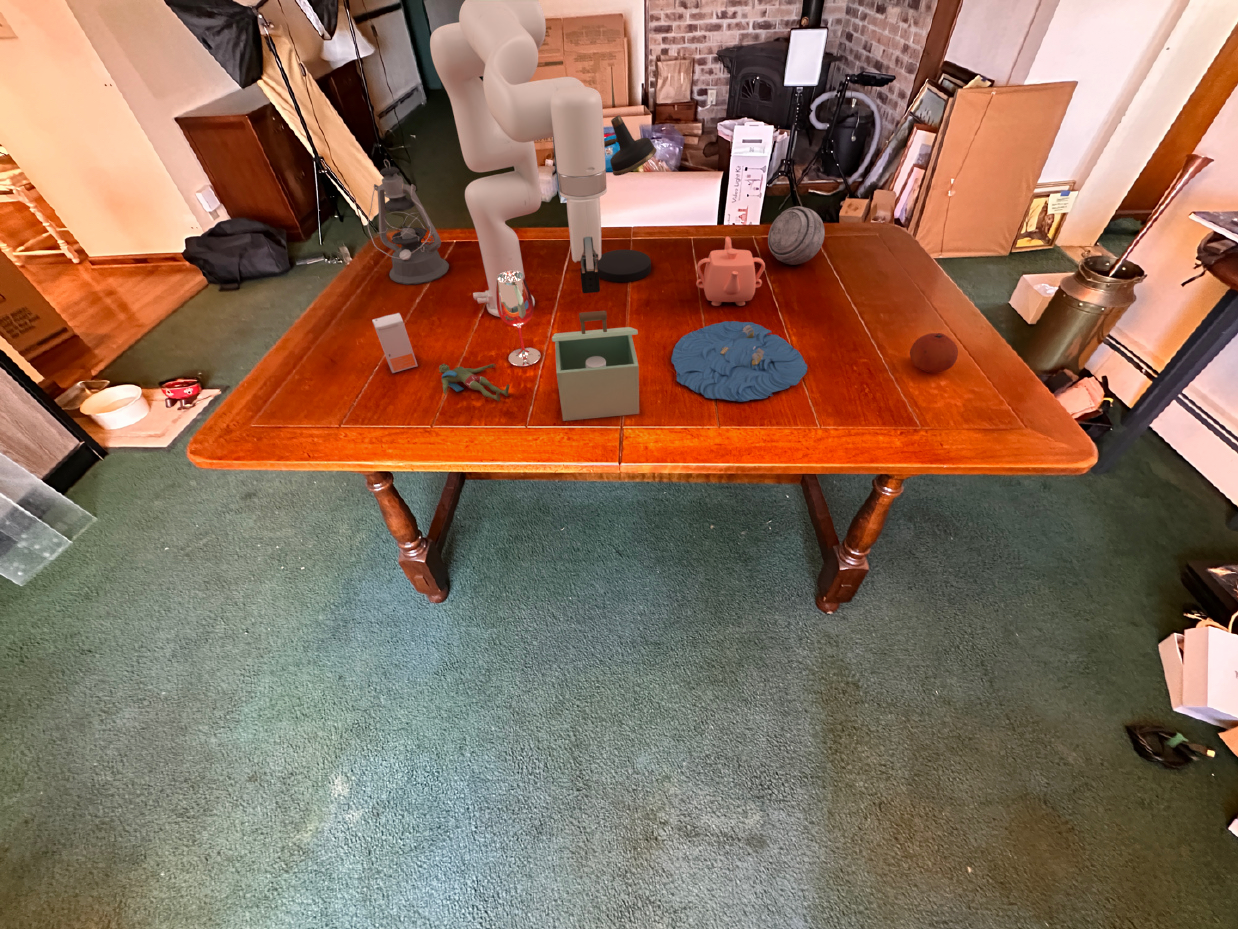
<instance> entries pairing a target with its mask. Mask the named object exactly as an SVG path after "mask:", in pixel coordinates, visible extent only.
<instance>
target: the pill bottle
mask: <svg viewBox="0 0 1238 929" xmlns="http://www.w3.org/2000/svg"><path fill="white" fill-rule="evenodd" d="M605 366H606V361H605V359H604V358H603V357H600V356H593V357H590V358H588V359H587V360H586V368H594V367H605Z"/></svg>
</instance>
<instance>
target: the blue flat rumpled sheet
mask: <svg viewBox="0 0 1238 929" xmlns="http://www.w3.org/2000/svg"><path fill="white" fill-rule="evenodd" d="M670 362H671V364H673V366H674V370H675V371H676V382H678V383H679V384H681V385H682V386H686V387H688V389H690V390H692V391H693V392H695V393H697V394H701V395H703V396H704V398H705V399H712V400H716V399H719V400H726V401H730V402H731V401H733V402H738V403H739V402H749V401H750V400H764V399H768V397H769V396H770V397H774V395H773V393H776V392H779V391H780V392H781V391H783V390H786V389H789V388H790V387H792V386H797V385H798V384H799V383H800V382H801V380H802V378H803V377H805V375H806V374H807V372H808V369H809V367H808V364H807V363H806V362H805V360H804V357H803V355H802V354H801V352H800V351H799V350H798V349H796V348H794V347H793V345H792V344H790V343H789V342H787V340H786V339H784V338H783V337H780V336H779V335H778V334H773V333H772V330H770V329H767V328H765V327H764V326H763V325H760V324H757V323H754V322H752V321H744V322H743V321H738V320H736V321H734V320H731V321H727V320H725V321H722V322H719V323H718V322H717V323H713V324H710V325H705V326H704V327H702V328H699V329H697V330H692V331H691V332H689V333H687V334H684V335H683V336H682V337H681V338H680V339H679V340H678V342H676V343H675V345H674V348H673V349H672V354H671V358H670Z"/></svg>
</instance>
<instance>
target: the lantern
mask: <svg viewBox="0 0 1238 929" xmlns="http://www.w3.org/2000/svg"><path fill="white" fill-rule="evenodd" d="M385 161H386V162H387V163H388V165H387V164H386V162H385ZM385 161H383V163H384V166H385V167H384V168H382V169H381V170H380V172H379V175H381V176H384V177H383V178H382V179H381V184H379V185H377V184H376V183H374V184H373V190H372V195H371V203H370V209H369V213H368V217H367V218H368V219H367V231H368V234H369V236H370V239H371V241H372V243H373V244H372V245H373V246H374V247H375V248H376V250H378V251H380V252H382V253H383V254H385V255H387V256H388V257H391V264H392V268H391V269H390V271H389V273H388V276H389V278H390V280H391V281H394V282H395V283H397V284H399V285H405V286H407V285H410V286H411V285H422V284H427V283H431V282H433V281H435V280H438V279H440V278H441V277H443V276H444V275H446V274H447V273H448V270H449V268H450V264H449V263H448V261H446V259H445V258H442V257H441V255H440V253H439V251H438V249H439V248H440V247H441V246H442V245H441V244H442V240H441V237H440V235H439V233H438V231H437V228H436V227H435V225H434V224H433V222H432V220H431V218H430V217H429V214H428V213H427V211H426V209H425V208H424V205H423V204H422V203H421V201H420V199H419V197H418V195H417V193H416V190H417V187H416V185H414V184H411V185H409V184H407V183H404V178H403V177H402V176H401V175H398V173H400V169H399V168H397V167H396V166H391V164H390V161H388V159H385ZM375 191H377V203H378V204H377V209H378V210H377V211H378V230H379V232H377V234H378V235H379V238H380V241H381V242H382V244H383V245H384V246H385V247H387V248H388V249H390V250H392V251H394V252H393V253H392V255H390V254H388V253H387V252H386V251H384V250H382V249H380V248H378V246H377V245H376V244H375V242H374V238H373V236H372V234H371V231H370V227H369V223H370V215H371V211H372V207H373V200H374V196H375ZM407 195H409V197H407ZM386 198H387V199H388V200H387V201H386ZM414 207H415V208H416V210H417V212H416V214H419V216H420V217H421V219H422V220H423V222H424V224H425V226H426V228H425V226H424V225H423V223H422V222H421V220H420V219H419V218H418V217H415V216H413V215H412V214H414V212H411V213H410V214H409V213H408V212H404V211H408V210H411V209H412V208H414ZM387 212H389V213H388V215H389V214H394V213H396V212H399V213H402V214H406V215H407V216H405V219H404V221H403V223H402V229H401V228H397V227H395V226H391V225H390V224H389V222H388V221H387ZM409 216H410V217H412V218H414V219H413V221H411V223H410V224H409V225H405V226H404V224H405V222H406V219H407V218H408V217H409ZM415 220H417V221H418V222H420V225H421V226H422V227H412V226H411V225H413V223H414V221H415ZM387 225H388V226H389V227H391V228H393V229H396V230H400V231H397V232H394V234H393V235H392V236H391V239H390V240H391V241H389V239H388V238H387V232H388V230H389V228H388V227H387ZM428 231H429V233H428ZM427 233H428V236H427V238H425V237H426V235H427ZM431 236H432V237H431ZM429 239H431V240H430V241H428V240H429ZM422 240H424V241H423V242H422ZM399 245H400V246H401V247H399Z"/></svg>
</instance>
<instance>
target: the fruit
mask: <svg viewBox="0 0 1238 929" xmlns="http://www.w3.org/2000/svg"><path fill="white" fill-rule="evenodd" d="M958 348H959V347H958V345H957V344H956V342H955V341H953V339H952V338H951V337H949V336H948V335H946V334H944V333H942V332H932V333H931V332H930V333H927V334H924V335H921V336H920V337H918V338H917V339H916V340H915V341H914V342H913V343H912V345H911V347H910V350H909V357H910V360H911V362H912V364H913V365H914V366H915V367H916V368H917V369H919V370H921V371H923V372H926V373H931V374H932V373H941V372H944V371H948V370H949V369H951V368H952V367H953V366H954V365H955V364H956V362H957V359H958V355H959V349H958Z"/></svg>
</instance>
